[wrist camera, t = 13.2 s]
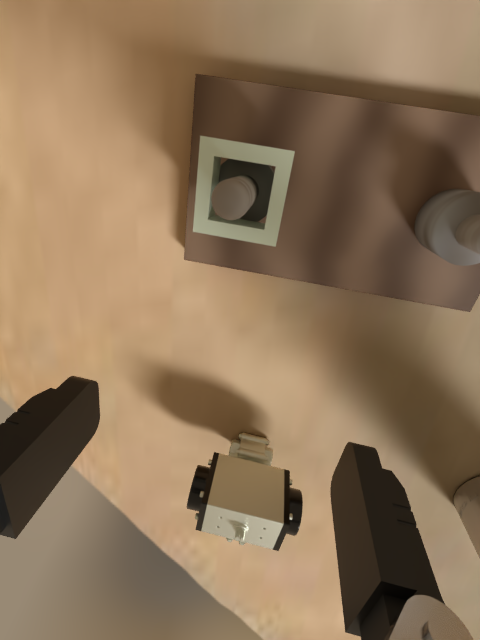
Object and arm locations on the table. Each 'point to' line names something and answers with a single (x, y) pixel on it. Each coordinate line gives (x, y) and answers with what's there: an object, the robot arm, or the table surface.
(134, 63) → the table surface
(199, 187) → the ring
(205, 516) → the pneumatic valve
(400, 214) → the board
